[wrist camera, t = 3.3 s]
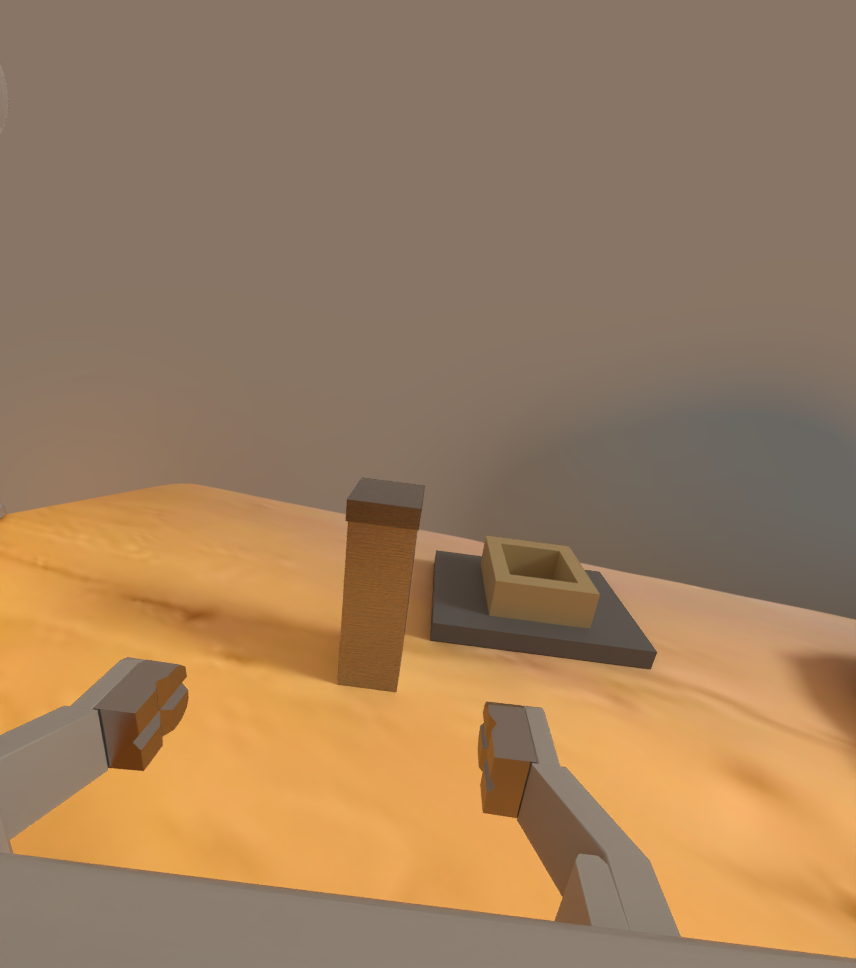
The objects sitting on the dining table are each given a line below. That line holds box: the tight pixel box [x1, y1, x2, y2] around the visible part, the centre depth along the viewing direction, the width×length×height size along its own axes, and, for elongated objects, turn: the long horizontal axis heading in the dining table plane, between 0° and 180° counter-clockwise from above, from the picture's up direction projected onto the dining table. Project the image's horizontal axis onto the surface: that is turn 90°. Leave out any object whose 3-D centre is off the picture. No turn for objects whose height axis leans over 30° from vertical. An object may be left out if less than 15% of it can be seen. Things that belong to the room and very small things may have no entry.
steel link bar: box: [337, 478, 425, 692], centre depth 24 cm, size 4×4×12 cm
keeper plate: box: [430, 536, 657, 669], centre depth 33 cm, size 16×11×4 cm
